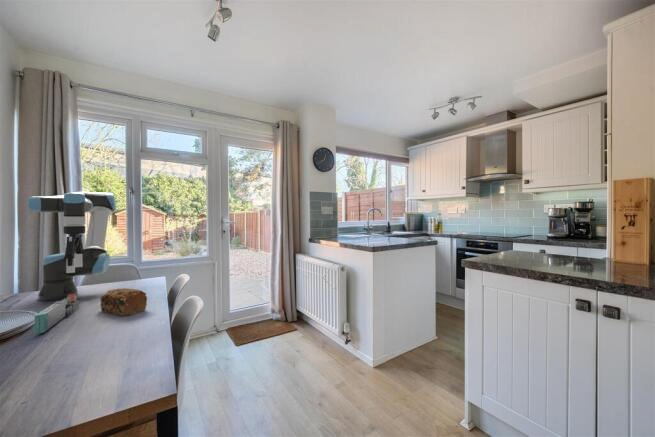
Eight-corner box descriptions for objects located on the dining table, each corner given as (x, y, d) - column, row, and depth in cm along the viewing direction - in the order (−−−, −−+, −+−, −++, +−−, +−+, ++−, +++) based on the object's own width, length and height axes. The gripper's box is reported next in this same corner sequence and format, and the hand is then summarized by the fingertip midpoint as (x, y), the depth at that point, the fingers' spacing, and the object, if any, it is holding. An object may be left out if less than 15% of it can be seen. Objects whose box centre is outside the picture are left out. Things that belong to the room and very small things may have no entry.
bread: (147, 310, 124) (147, 289, 124) (121, 318, 114) (121, 295, 114) (125, 304, 132) (125, 284, 132) (99, 311, 123) (99, 289, 123)
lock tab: (69, 300, 124) (69, 294, 124) (76, 299, 125) (76, 293, 125) (66, 301, 121) (66, 295, 121) (74, 301, 122) (74, 295, 122)
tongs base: (66, 309, 123) (66, 294, 123) (79, 308, 126) (79, 292, 126) (31, 336, 96) (31, 316, 96) (48, 334, 98) (48, 314, 98)
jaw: (64, 312, 117) (64, 298, 117) (71, 312, 118) (71, 297, 118) (37, 333, 97) (37, 315, 97) (46, 332, 98) (46, 314, 98)
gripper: (71, 224, 135) (71, 265, 135) (54, 227, 114) (54, 276, 114) (90, 223, 139) (91, 264, 139) (78, 227, 118) (78, 274, 118)
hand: (74, 269), depth 127 cm, fingers open, 13 cm apart
